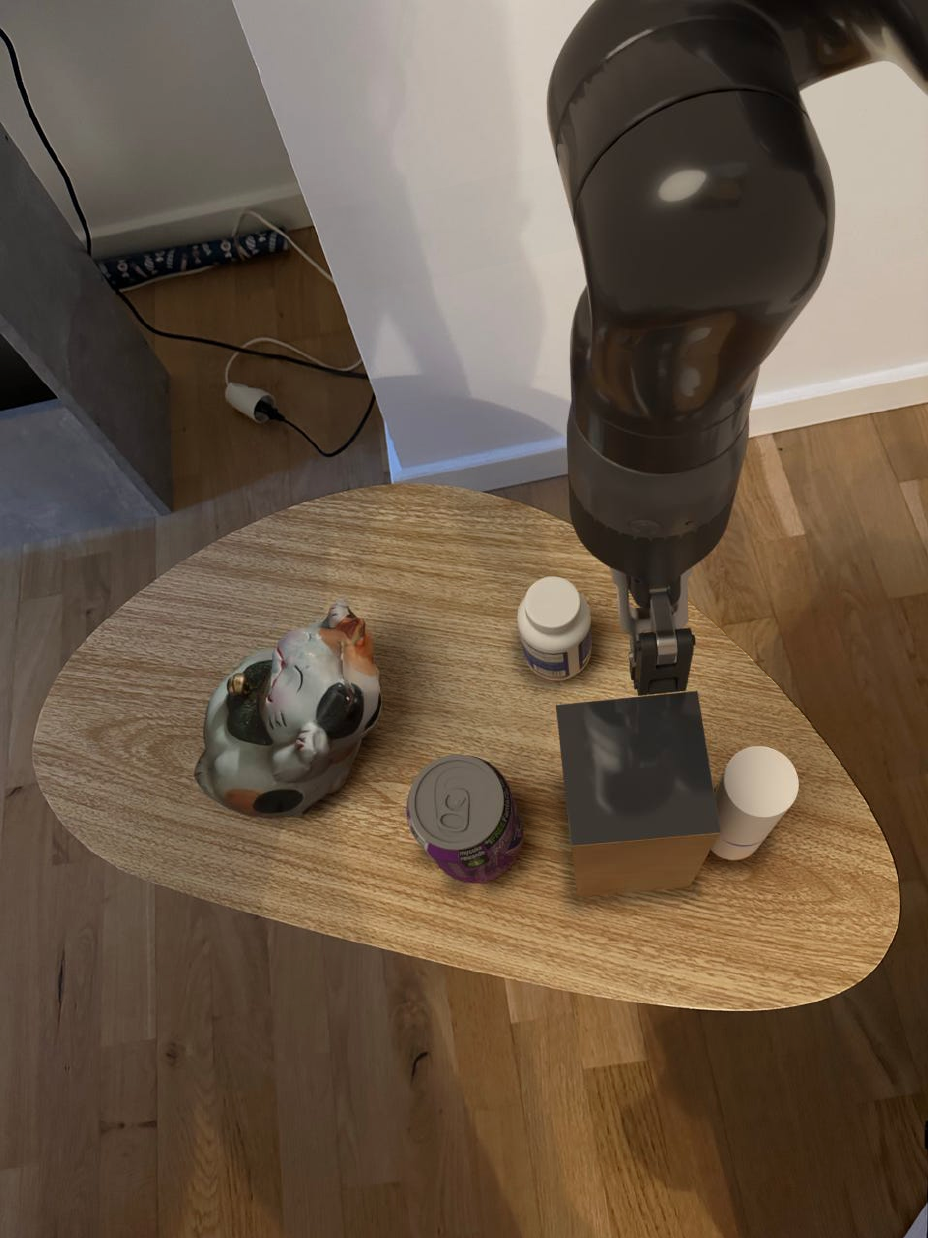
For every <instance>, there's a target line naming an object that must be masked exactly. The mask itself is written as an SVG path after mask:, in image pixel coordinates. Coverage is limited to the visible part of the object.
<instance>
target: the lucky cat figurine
mask: <svg viewBox="0 0 928 1238" xmlns="http://www.w3.org/2000/svg"><path fill="white" fill-rule="evenodd" d="M379 680H380V671H379V668H378V666H377V665H376V663H375V645H374V641H373V638H372V636H371V632H370V631H369V629H368V628H367V625H366V622H365V620H364V618H363V617H358V616H357V615H356V614H355V613H354V612H353V611H352V610H351V609H350V606H349V605H348V602H347V601H345V600H344V601H342V600H340V599H338V598H337V599H335V603H333V604H332V605H331V606H330V608H329V609H328V612H327V616H326V617H325V618H321V619H319V620H316V621H314V622H313V623H311V625H310V626H307V627H300V628H297V629H293V630H289V631H288V632H286V633H285V634H284V635H283V636H281V637H280V638H279V640H278V642H277V645H276V647H274V646H273V647H265V648H259V649H258V650H257V649H256V651H254V652H252V653H251V654H248V655H247V656H246V657H245V658H244V659H243V660H242V661H241V662H240V663H239V665H238V667H237V668H236V669H235V670H234V671H233V672H232V673H227V674H225V675H223V677H222V680H221V683H220V684H219V685H218V687H216V689H214V691H213V693H212V695H211V697H210V698H209V700H208V702H207V705H206V708H205V715H204V719H203V725H202V738H203V744H204V748H203V749H204V750H203V752H202V754H201V755H200V757H199V759H198V760H197V762H196V765H195V768H194V771H193V776H194V779H195V780H196V782H197V785H198V786H199V788H200V790H202V792H203V793H204V794H205V795H206V796H207V797H209V798H210V799H212V800H213V801H215V802H216V803H218V805H221V806H222V807H225V808H227V809H228V810H230V811H233V812H235V813H239V814H240V815H243V816H246V817H252V818H258V819H259V818H260V819H279V818H282V819H284V818H294V819H295V818H304V817H305V816H306V814H308V813H309V811H311V809H312V808H313V807H315V805H316V804H317V803H319V802H320V801H321V800H322V799H324V798H326V797H328V796H331V795H333V794H334V793H336V792H337V791H338V790H340V789H341V788H342V787H343V786H344V785H345V783H346V782H347V781H346V780H347V778H348V776H349V774H350V771H351V767H352V765H353V763H354V760H355V758H356V757H357V755H358V753H359V750H360V747H361V743H362V739H364V738H365V737H366V736H368V734H370V732H371V731H372V730H373V729H374V727H375V725H376V723H377V721H378V720H379V717H380V716H381V712H382V707H383V697H382V692H381V687H380V681H379Z"/></svg>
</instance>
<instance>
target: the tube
mask: <svg viewBox="0 0 928 1238" xmlns="http://www.w3.org/2000/svg"><path fill="white" fill-rule="evenodd" d="M799 785H800V783H799V777H798V773H797V770H796V768H795V766H794V765H793V763H792V762H791V760H790V759H789V758H788V757H787V756H785V754H783V753H782V752H780V751H779V750H776V749H774V748H772V747H768V746H763V745H762V746H761V745H753V746H748V747H746V748H742V749H741V750H739V751H738V752H736V753H735V754H734V755H733V756H732V757H731V758H730V759H729V760H728V763H727V765H726V766H725V769H724V770H723V773H722V776H721V778H720V780H719V783H718V784H717V787H716V789H715V790H714V795H715V801H716V807H717V813H718V819H719V826H720V834H719V835H718V837H717V839H716V840H715V842H714V844H713V846H712V848H711V849H710V851H711V852H712V853H713V854H715V855H716V856H717V857H720V858H721V859H725V860H730V861H739V860H743V859H746V858H748V857H750V856H751V855H753V854H754V853H755V852H756V851H757V850H758V848H759V847H760V845H761V844H762V843H763V842H764V840H765V839H766V838H767V837H768V835H769V834H770V833H771V832H772V831H773V829H774V828H775V827H776V825H777V824H778V823H779V821H780V820H781V819H782V818H783V816H784V815H785V814H786V813H787V812H788V810H789V809H790V807H791V806H792V805H793V804H794V802H795V800H796V798H797V796H798V793H799V789H800V788H799Z"/></svg>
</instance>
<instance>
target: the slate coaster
mask: <svg viewBox="0 0 928 1238" xmlns="http://www.w3.org/2000/svg"><path fill="white" fill-rule="evenodd" d="M555 713H556V721H557V733H558V740H559V749H560V760H561V768H562V769H561V770H562V778H563V787H564V788H563V789H564V796H565V797H564V798H565V805H566V814H567V815H566V816H567V825H568V834H569V835H568V836H569V843H570V848H571V847H578V846H589V845H600V844H611V843H623V842H634V841H645V840H656V839H667V838H678V837H689V836H701V835H712V834H720V826H719V819H718V813H717V807H716V801H715V795H714V793H715V790H714V784H713V778H712V771H711V765H710V760H709V753H708V747H707V741H706V735H705V728H704V722H703V716H702V710H701V704H700V699H699V691H698V690H693V691H681V692H671V693H662V694H652V695H643V696H634V697H633V696H631V697H622V698H612V699H602V700H592V701H583V702H575V703H574V702H573V703H564V704H555Z"/></svg>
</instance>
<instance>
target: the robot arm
mask: <svg viewBox="0 0 928 1238" xmlns="http://www.w3.org/2000/svg"><path fill="white" fill-rule="evenodd" d="M577 21H578V22H577V23H576V24H575V26H574V27H573V28H572V30H571V32H570V33H569V35H568V36H567V38H566V39H565V42H564V43H563V45H562V47H561V48H560V50H559V53H558V55H557V58H556V60H555V62H554V64H553V67H552V70H551V73H550V76H549V80H548V85H547V92H546V120H547V127H548V131H549V132H548V133H549V137H550V140H551V144H552V148H553V152H554V155H555V159H556V164H557V166H558V171H559V174H560V178H561V183H562V185H563V190H564V193H565V197H566V200H567V205H568V208H569V211H570V215H571V219H572V222H573V226H574V230H575V235H576V240H577V243H578V247H579V252H580V255H581V260H582V265H583V271H584V276H585V286H584V288H583V290H582V292H581V294H580V295H579V297H578V301H577V304H576V306H575V310H574V313H573V316H572V322H571V328H570V339H569V375H570V376H569V377H570V380H569V381H570V406H569V409H568V416H567V424H566V458H567V482H568V506H569V516H570V519H571V525H572V527H573V529H574V532H575V533H576V536H577V538H578V540H579V541H580V543H581V544H582V546H583V547H584V548H585V549H586V550H587V552H589V553H590V554H591V555H592V556H593V557H594V558H595V559H596V560H598V561H599V562H600V563H602V564H604V565H605V566H607V567H609V571H610V575H611V579H612V582H613V584H614V585H615V589H616V603H617V604H616V605H617V616H618V620H619V625H620V628H621V631H623V633H625V634H628V636H629V646H630V647H629V651H628V652H627V653H628V654H627V655H628V661H629V674H630V675H629V676H630V679H631V681H632V682H633V688H634V690H636V693H637V697H641V696H651V695H661V694H671V693H680V692H687V688H688V685H689V677H690V672H691V668H692V663H693V658H694V657H693V656H694V651H695V646H696V644H697V641H696V635H695V634H693V631H692V628H691V627H686V626H687V624H688V623H689V599H688V598H689V595H688V591H689V590H688V579H689V578H690V577H691V575H692V572H693V567H694V566H696V565H697V564H699V563H700V562H702V560H704V559H705V558H707V556H709V555H710V554H711V553H712V552H713V550H714V549H715V548H716V547H717V546H718V544H719V543H720V541H721V539H722V538H723V536H724V534H725V533H726V530H727V527H728V525H729V521H730V517H731V514H732V510H733V505H734V502H735V498H736V493H737V490H738V486H739V481H740V478H741V474H742V470H743V466H744V462H745V459H746V454H747V449H748V444H749V437H750V413H751V408H752V404H753V399H754V395H755V393H756V392H755V391H756V388H757V383H758V380H759V374H760V370H761V365H762V364H763V363H764V362H765V360H767V359H768V358H769V356H770V355H771V354H772V353H773V351H774V350H775V349H776V348H777V346H778V345H779V343H781V341H782V339H783V338H784V337H785V335H786V333H787V332H788V331H789V329H790V328H791V327H792V325H793V324H794V323H795V322H796V320H797V319H798V318H799V316H800V315H801V313H802V312H803V311H804V310H805V308H806V307H807V306H808V305H809V303H810V302H811V301H812V300H813V298H814V296H815V294H816V292H817V291H818V290H819V288H820V286H821V284H822V281H823V279H824V276H825V274H826V272H827V269H828V266H829V263H830V260H831V255H832V249H833V246H834V245H833V244H834V238H835V237H834V236H835V229H836V228H835V227H836V196H835V186H834V180H833V175H832V171H831V168H830V164H829V160H828V158H827V156H826V154H825V150H824V148H823V145H822V143H821V141H820V138H819V136H818V133H817V131H816V128H815V126H814V124H813V121H812V118H811V116H810V114H809V112H808V111H809V110H808V109H807V106H806V104H805V100H804V98H803V96H802V94H801V92H802V91H804V90H806V89H808V88H809V87H811V86H813V85H815V84H818V83H821V82H822V81H823V82H824V81H825V80H828V79H830V78H833V77H836V76H839V75H842V74H845V73H847V72H850V71H853V70H856V69H860V68H862V67H866V66H869V65H872V64H877V63H881V62H889V63H892V64H894V65H896V66H897V67H898V68H900V69H901V70H902V71H903V73H904V74H905V75H906V76H907V77H908V78H909V79H910V80H911V81H912V82H913V83H914V85H916V86H917V87H918V89H920V91H922V93H923V94H924V95H926V96H927V97H928V0H594V1H593V3H592V4H591V5H590V6H589V7H588V8H587V10H586V11H585V12H584V13H583V15H582V16H581V17H580V18H579V20H577ZM630 595H631V597H632V599H633V601H634V603H635V604H636V606H637V607H633V606H631V604H630Z"/></svg>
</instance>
